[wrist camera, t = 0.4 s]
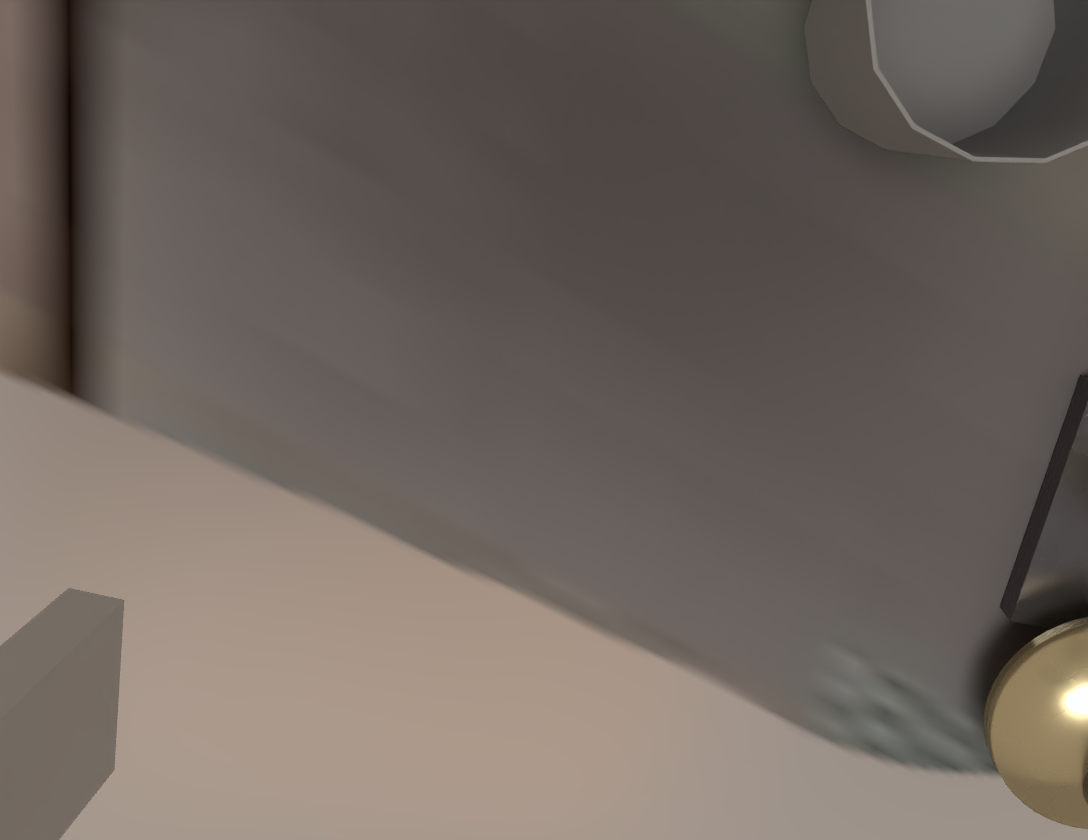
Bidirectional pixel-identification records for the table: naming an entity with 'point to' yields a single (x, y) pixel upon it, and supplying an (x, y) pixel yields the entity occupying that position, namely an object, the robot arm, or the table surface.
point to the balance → (1049, 642)
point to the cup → (955, 75)
